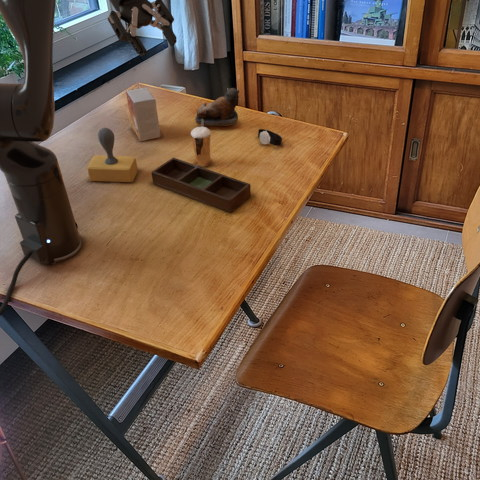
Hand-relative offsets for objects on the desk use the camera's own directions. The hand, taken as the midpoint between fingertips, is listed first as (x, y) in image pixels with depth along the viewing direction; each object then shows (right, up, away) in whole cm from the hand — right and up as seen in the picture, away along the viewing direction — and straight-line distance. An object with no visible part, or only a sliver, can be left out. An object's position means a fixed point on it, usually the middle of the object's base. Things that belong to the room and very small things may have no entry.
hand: (159, 48), depth 130 cm
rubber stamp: (-12, -28, +6) cm, 31 cm away
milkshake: (+9, -23, +10) cm, 27 cm away
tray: (+9, -31, +1) cm, 33 cm away
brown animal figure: (+11, -10, +25) cm, 29 cm away
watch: (+25, -17, +18) cm, 35 cm away
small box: (-8, -13, +22) cm, 27 cm away
